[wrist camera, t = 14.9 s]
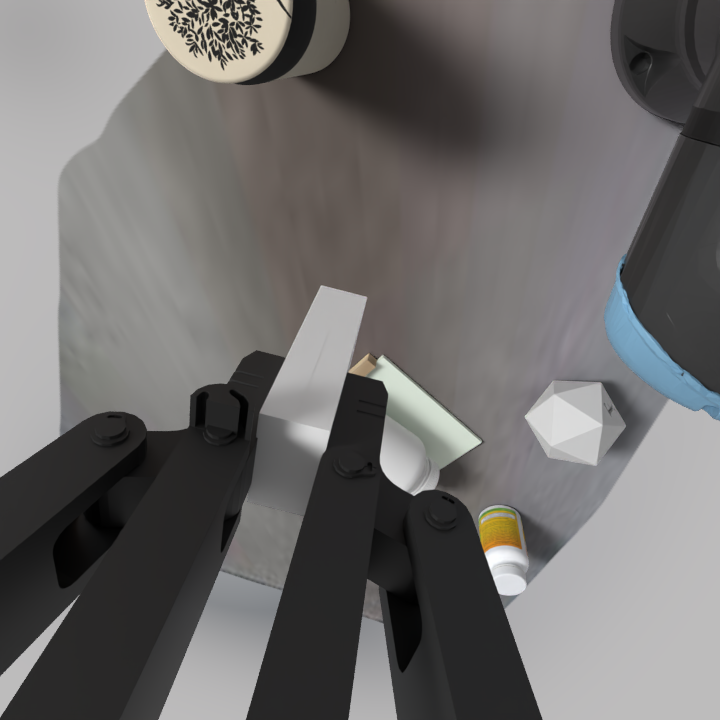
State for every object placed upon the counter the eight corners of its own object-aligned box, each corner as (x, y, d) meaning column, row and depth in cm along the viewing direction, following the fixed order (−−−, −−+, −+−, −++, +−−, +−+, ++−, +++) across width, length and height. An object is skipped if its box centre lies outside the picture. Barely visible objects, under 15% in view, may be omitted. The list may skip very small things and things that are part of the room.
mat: (284, 439, 63) (283, 441, 62) (383, 354, 55) (382, 356, 54) (376, 508, 67) (376, 511, 67) (481, 439, 59) (481, 442, 59)
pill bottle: (357, 383, 51) (459, 455, 56) (325, 384, 58) (419, 448, 63) (317, 453, 48) (428, 522, 54) (290, 445, 55) (390, 506, 61)
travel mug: (284, 92, 42) (199, 117, 27) (231, -12, 39) (101, -50, 24) (368, 42, 40) (325, 38, 24) (319, -75, 36) (235, -163, 21)
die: (598, 428, 57) (660, 438, 47) (537, 469, 56) (588, 488, 46) (562, 366, 57) (616, 363, 47) (500, 406, 55) (543, 411, 46)
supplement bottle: (469, 513, 66) (474, 580, 57) (505, 497, 63) (516, 564, 55) (493, 537, 67) (501, 604, 59) (529, 522, 65) (542, 590, 57)
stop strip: (281, 429, 62) (278, 437, 61) (369, 353, 55) (367, 360, 53) (289, 434, 62) (286, 442, 61) (377, 359, 55) (375, 367, 54)
